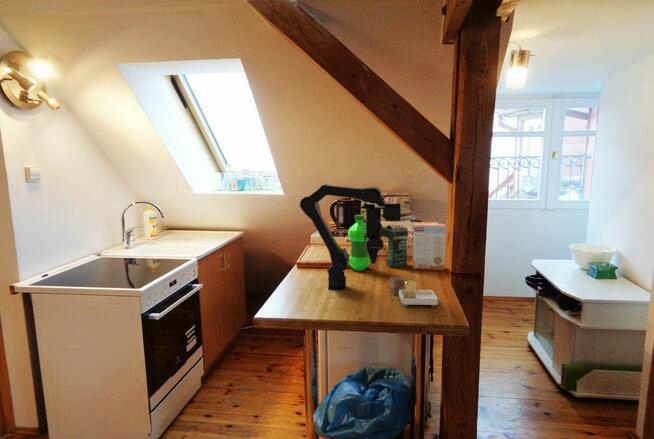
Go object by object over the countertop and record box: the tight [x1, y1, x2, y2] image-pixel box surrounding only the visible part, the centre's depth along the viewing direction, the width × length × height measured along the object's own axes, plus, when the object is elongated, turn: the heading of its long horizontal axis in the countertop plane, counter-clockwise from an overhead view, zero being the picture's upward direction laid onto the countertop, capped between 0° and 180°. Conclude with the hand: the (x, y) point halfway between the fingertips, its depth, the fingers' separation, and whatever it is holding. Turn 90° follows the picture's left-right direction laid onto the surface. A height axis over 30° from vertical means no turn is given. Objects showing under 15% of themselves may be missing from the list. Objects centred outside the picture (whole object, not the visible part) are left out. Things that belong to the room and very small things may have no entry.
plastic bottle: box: [347, 214, 371, 272], centre depth 178 cm, size 10×10×25 cm
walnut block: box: [389, 276, 405, 296], centre depth 148 cm, size 4×4×6 cm
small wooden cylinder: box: [404, 279, 417, 299], centre depth 138 cm, size 4×4×6 cm
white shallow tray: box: [398, 289, 439, 309], centre depth 138 cm, size 12×9×3 cm
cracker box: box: [412, 222, 447, 271], centre depth 179 cm, size 14×6×21 cm, turn 77°
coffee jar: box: [385, 226, 409, 269], centre depth 184 cm, size 10×8×19 cm
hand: (372, 260), depth 151 cm, fingers open, 9 cm apart
